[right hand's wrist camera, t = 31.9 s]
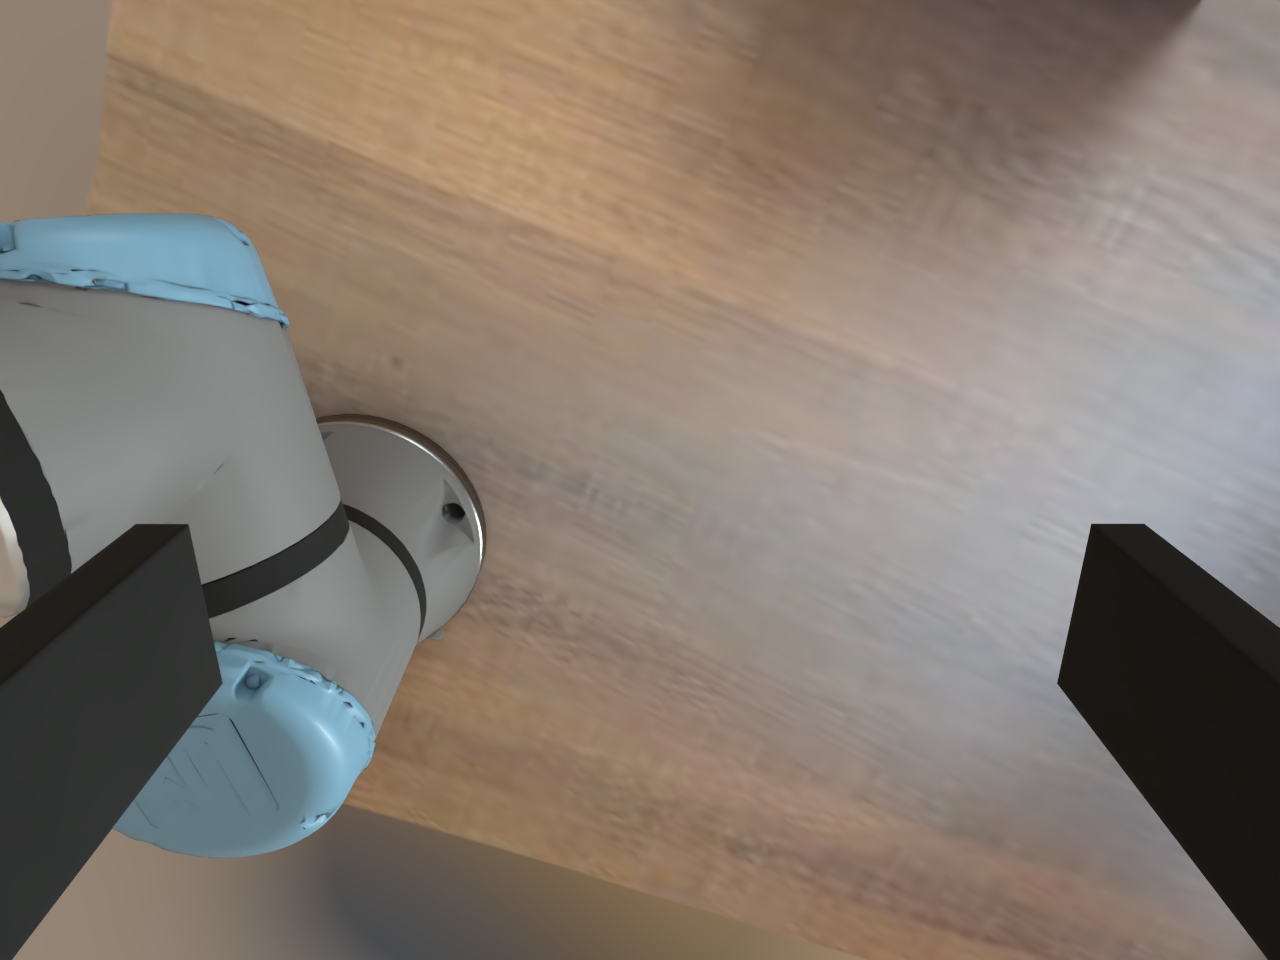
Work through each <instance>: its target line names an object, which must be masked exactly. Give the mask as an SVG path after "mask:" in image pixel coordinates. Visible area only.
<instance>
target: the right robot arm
mask: <svg viewBox="0 0 1280 960" xmlns="http://www.w3.org/2000/svg"><path fill="white" fill-rule="evenodd" d="M289 326H290V324H289V321H288V317H287V316H286V314H285V313H284V312H283V311H281V310H280V309H279V308H278V306H277V303H276V300H275V298H274V295H273V292H272V290H271V287H270V284H269V282H268V279H267V277H266V274H265V271H264V269H263V266H262V263H261V261H260V258H259V255H258V253H257V251H256V249H255V247H254V246H253V244H252V242H251V241H250V240H249V238H248V237H247V236H246V235H245V234H244V233H243V232H242V231H241V230H239V229H238V228H237V227H235V226H233V225H232V224H230V223H229V222H226V221H224V220H221V219H219V218H215V217H211V216H206V215H199V214H181V213H139V214H104V215H84V216H66V217H49V218H37V219H25V220H18V221H14V222H11V223H9V224H7V223H2V222H0V617H5V618H6V617H10V616H13V615H16V614H18V615H17V616H15V617H14V618H13V619H11V620H10V621H9V622H8V623H6V624H5V625H4V626H2V627H1V628H0V960H12V959H13V957H14V956H15V955H16V954H17V952H18V951H19V950H20V948H21V947H22V946H23V944H24V943H25V942H26V940H27V939H28V938H29V936H30V935H31V934H32V933H33V931H34V930H35V929H36V927H37V926H38V925H39V923H40V922H41V921H42V920H43V918H44V917H45V916H46V914H47V913H48V912H49V910H50V909H51V908H52V906H53V905H54V904H55V903H56V901H57V900H58V899H59V897H60V896H61V895H62V893H63V892H64V891H65V889H66V888H67V887H68V885H69V884H70V883H71V881H72V880H73V879H74V878H75V876H76V875H77V874H78V872H79V871H80V870H81V868H82V867H83V866H84V865H85V863H86V862H87V861H88V859H89V858H90V857H91V855H92V854H93V853H94V851H95V850H96V849H97V847H98V846H99V845H100V844H101V842H102V841H103V840H104V838H105V837H106V836H107V834H108V833H109V832H110V830H111V829H114V830H116V831H118V832H120V833H122V834H124V835H126V836H128V837H130V838H132V839H134V840H139V841H144V842H148V843H151V844H153V845H155V846H158V847H160V848H162V849H164V850H167V851H171V852H175V853H180V854H185V855H191V856H198V857H212V858H233V857H244V856H252V855H257V854H263V853H267V852H271V851H275V850H278V849H281V848H284V847H287V846H289V845H291V844H293V843H296V842H298V841H300V840H302V839H303V838H305V837H307V836H309V835H310V834H312V833H313V832H315V831H316V830H318V829H319V828H320V827H321V826H323V825H324V824H325V823H326V822H327V821H328V820H329V819H330V818H331V817H332V816H333V815H334V814H335V813H336V811H337V810H338V809H339V807H340V806H341V805H342V803H343V802H344V800H345V799H346V797H347V795H348V793H349V791H350V789H351V787H352V786H353V784H354V782H355V780H356V778H357V777H358V775H359V774H360V773H361V772H362V771H363V770H364V769H365V768H366V767H367V766H368V764H369V762H370V760H371V758H372V755H373V752H374V749H373V748H374V747H375V745H376V744H375V743H374V742H375V739H376V737H377V735H378V732H379V730H380V727H381V725H382V723H383V720H384V718H385V716H386V713H387V711H388V709H389V706H390V704H391V702H392V700H393V697H394V695H395V693H396V690H397V688H398V686H399V683H400V681H401V679H402V676H403V674H404V672H405V670H406V667H407V665H408V663H409V660H410V658H411V656H412V653H413V651H414V649H415V646H416V645H417V644H418V643H420V642H421V641H422V640H424V639H425V638H430V639H436V640H441V639H442V636H443V634H444V631H445V630H441V629H439V628H440V627H442V626H443V625H444V624H445V623H446V622H448V621H449V620H450V619H451V618H452V617H453V616H454V615H455V614H456V613H457V612H458V611H459V610H460V608H461V607H462V606H463V605H464V603H465V602H466V600H467V599H468V597H469V595H470V594H471V592H472V590H473V588H474V585H475V583H476V580H477V577H478V575H479V572H480V569H481V566H482V563H483V559H484V555H485V548H486V525H485V519H484V514H483V510H482V507H481V503H480V501H479V498H478V496H477V493H476V491H475V489H474V487H473V485H472V483H471V482H470V480H469V479H468V477H467V476H466V474H465V472H464V471H463V470H462V469H461V467H460V466H459V465H458V464H457V462H456V461H455V460H454V459H453V458H452V457H451V456H450V455H449V454H448V453H447V452H446V451H445V450H443V449H442V448H441V447H440V446H439V445H437V444H436V443H435V442H433V441H432V440H431V439H429V438H428V437H426V436H424V435H423V434H421V433H419V432H418V431H416V430H413V429H411V428H409V427H407V426H405V425H402V424H400V423H397V422H394V421H391V420H387V419H384V418H380V417H374V416H369V415H358V414H342V415H332V416H327V417H322V418H318V419H316V418H315V415H314V412H313V409H312V406H311V403H310V400H309V397H308V394H307V391H306V388H305V385H304V382H303V379H302V376H301V373H300V370H299V367H298V363H297V360H296V357H295V354H294V351H293V348H292V345H291V342H290V339H289V336H288V333H287V330H286V328H287V327H289ZM1057 684H1058V685H1059V686H1060V688H1061V689H1062V690H1063V692H1064V693H1065V694H1066V695H1067V697H1068V698H1069V699H1070V701H1071V702H1072V703H1073V705H1074V706H1075V707H1076V709H1077V710H1078V711H1079V713H1080V714H1081V715H1082V716H1083V718H1084V719H1085V720H1086V722H1087V723H1088V724H1089V726H1090V727H1091V728H1092V730H1093V731H1094V732H1095V733H1096V735H1097V736H1098V737H1099V739H1100V740H1101V741H1102V743H1103V744H1104V745H1105V747H1106V748H1107V749H1108V751H1109V752H1110V753H1111V754H1112V756H1113V757H1114V758H1115V760H1116V761H1117V762H1118V764H1119V765H1120V766H1121V768H1122V769H1123V770H1124V771H1125V773H1126V774H1127V775H1128V777H1129V778H1130V779H1131V781H1132V782H1133V783H1134V785H1135V786H1136V787H1137V789H1138V790H1139V791H1140V792H1141V794H1142V795H1143V796H1144V798H1145V799H1146V800H1147V802H1148V803H1149V804H1150V806H1151V807H1152V808H1153V809H1154V811H1155V812H1156V813H1157V815H1158V816H1159V817H1160V819H1161V820H1162V821H1163V823H1164V824H1165V825H1166V827H1167V828H1168V829H1169V830H1170V832H1171V833H1172V834H1173V836H1174V837H1175V838H1176V840H1177V841H1178V842H1179V844H1180V845H1181V846H1182V847H1183V849H1184V850H1185V851H1186V853H1187V854H1188V855H1189V857H1190V858H1191V859H1192V861H1193V862H1194V863H1195V865H1196V866H1197V867H1198V868H1199V870H1200V871H1201V872H1202V874H1203V875H1204V876H1205V878H1206V879H1207V880H1208V882H1209V883H1210V884H1211V885H1212V887H1213V888H1214V889H1215V891H1216V892H1217V893H1218V895H1219V896H1220V897H1221V899H1222V900H1223V901H1224V903H1225V904H1226V905H1227V906H1228V908H1229V909H1230V910H1231V912H1232V913H1233V914H1234V916H1235V917H1236V918H1237V920H1238V921H1239V922H1240V923H1241V925H1242V926H1243V927H1244V929H1245V930H1246V931H1247V933H1248V934H1249V935H1250V937H1251V938H1252V939H1253V941H1254V942H1255V943H1256V944H1257V946H1258V947H1259V948H1260V950H1261V951H1262V952H1263V954H1264V955H1265V956H1266V958H1267V959H1268V960H1280V628H1279V627H1278V626H1276V625H1275V624H1274V623H1272V622H1271V621H1270V620H1269V619H1267V618H1266V617H1265V616H1263V615H1262V614H1261V613H1259V612H1258V611H1257V610H1256V609H1254V608H1253V607H1252V606H1250V605H1249V604H1248V603H1246V602H1245V601H1244V600H1242V599H1241V598H1240V597H1239V596H1237V595H1236V594H1235V593H1233V592H1232V591H1231V590H1229V589H1228V588H1227V587H1226V586H1224V585H1223V584H1222V583H1220V582H1219V581H1218V580H1216V579H1215V578H1214V577H1213V576H1211V575H1210V574H1209V573H1207V572H1206V571H1205V570H1203V569H1202V568H1201V567H1200V566H1198V565H1197V564H1196V563H1194V562H1193V561H1192V560H1190V559H1189V558H1188V557H1187V556H1185V555H1184V554H1183V553H1181V552H1180V551H1179V550H1177V549H1176V548H1175V547H1174V546H1172V545H1171V544H1170V543H1168V542H1167V541H1166V540H1164V539H1163V538H1162V537H1160V536H1159V535H1158V534H1157V533H1155V532H1154V531H1153V530H1151V529H1150V528H1149V527H1147V526H1146V525H1145V524H1091V528H1090V533H1089V538H1088V542H1087V547H1086V552H1085V556H1084V561H1083V566H1082V570H1081V575H1080V580H1079V584H1078V589H1077V594H1076V598H1075V603H1074V608H1073V612H1072V617H1071V622H1070V626H1069V631H1068V636H1067V640H1066V645H1065V650H1064V654H1063V659H1062V664H1061V668H1060V673H1059V678H1058V682H1057Z"/></svg>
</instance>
